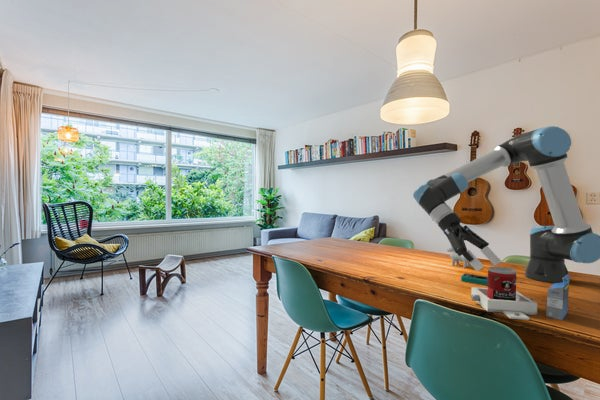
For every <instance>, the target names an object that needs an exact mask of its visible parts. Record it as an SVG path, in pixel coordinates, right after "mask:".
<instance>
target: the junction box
mask: <svg viewBox="0 0 600 400" xmlns="http://www.w3.org/2000/svg"><path fill="white" fill-rule="evenodd" d="M470 291H471V298H470V299H471V301H472V302H476V303H477V302H478V303H477V304H479V305H480V306H481V307H482V308H483V309H484V310H486V312H488V313H489V312H491V313H492V312H493V313H503V314H504V315H505V316H506V317H508V318H509V319H512V320H513V319H514V320H524V321H525V320H526V321H530V317H529V316H527V315H531V316H538V303H537V302H536V301H534V299H533V298H531V297H528V296H527V297H526V296H525V295H523V294H522V293H520V292H519V291H517V290H516V301H510V300H496V299H490V298H488V287H474V286H471V290H470Z"/></svg>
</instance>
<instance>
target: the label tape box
mask: <svg viewBox="0 0 600 400" xmlns="http://www.w3.org/2000/svg"><path fill="white" fill-rule="evenodd" d="M569 276H570V273H569V274H568V275H566V276H565V277H564V278H562V279H563V282H562V283H552V285H551V286H549V288H548V289H547V294H546V295H547V298H546V311H545V312H546V314H545V315H546V316H545V317H548V318H551V319H553V320H554V319H555V320H559V321H563V320H564V318H565V317H566V316H567V314H568V309H569V308H568V307H569V295H570V294H569V293H570V292H569V291H570V282H569ZM566 279H567V282H566Z"/></svg>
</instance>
